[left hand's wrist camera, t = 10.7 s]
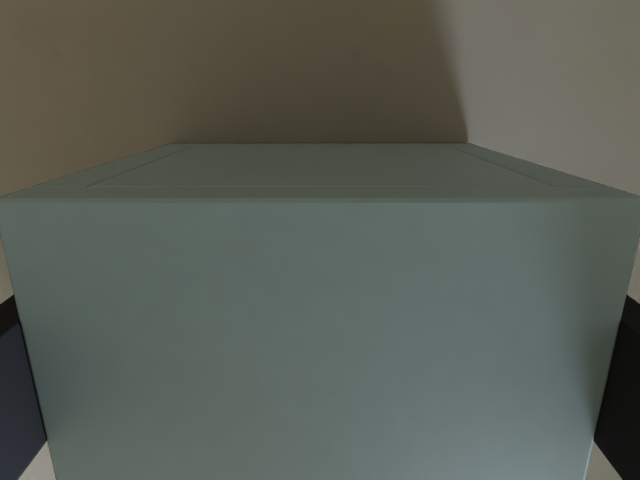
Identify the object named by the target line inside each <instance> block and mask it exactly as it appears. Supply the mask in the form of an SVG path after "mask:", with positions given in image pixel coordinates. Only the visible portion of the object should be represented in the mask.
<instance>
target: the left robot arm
mask: <svg viewBox="0 0 640 480" xmlns="http://www.w3.org/2000/svg"><path fill="white" fill-rule="evenodd" d="M46 441H47V437H46V433H45V428H44V424H43V420H42V415H41V411H40V406H39V402H38V398H37V393H36V389H35V384H34V380H33V376H32V371H31V367H30V362H29V358H28V354H27V349H26V345H25V340H24V336H23V332H22V327H21V323H20V318H19V314H18V310H17V305H16V301H15V296H14V295H13V296H11V297H10V298H8V299H7V300H6V301H4V302H3V303H2V304H0V480H18V479H19V477H20V476H21V475H22V473H23V472H24V471H25V469H26V468H27V467H28V465H29V464H30V463H31V461H32V460H33V459H34V457H35V456H36V455H37V453H38V452H39V451H40V449H41V448H42V446H43V445H44V444H45V442H46ZM594 442H595V443H596V444H597V446H598V447H599V449H600V450H601V451H602V453H603V454H604V455H605V457H606V458H607V459H608V461H609V462H610V463H611V465H612V466H613V467H614V469H615V470H616V471H617V473H618V474H619V475H620V477H621V478H622V479H623V480H640V304H639V303H638V302H636V301H635V300H633V299H632V298H631V297H629V296H628V295H626V299H625V303H624V308H623V312H622V317H621V321H620V325H619V330H618V334H617V339H616V343H615V347H614V352H613V356H612V361H611V365H610V370H609V374H608V378H607V383H606V387H605V392H604V396H603V400H602V405H601V409H600V414H599V418H598V423H597V427H596V431H595V436H594Z"/></svg>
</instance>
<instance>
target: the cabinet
mask: <svg viewBox="0 0 640 480" xmlns="http://www.w3.org/2000/svg"><path fill="white" fill-rule="evenodd" d="M0 235H1V239H2V244H3V248H4V252H5V257H6V261H7V266H8V270H9V274H10V279H11V283H12V288H13V292H14V296H15V301H16V305H17V310H18V314H19V318H20V323H21V327H22V332H23V336H24V340H25V345H26V349H27V354H28V358H29V362H30V367H31V371H32V376H33V380H34V384H35V389H36V393H37V398H38V402H39V406H40V411H41V415H42V420H43V424H44V428H45V433H46V437H47V442H48V446H49V450H50V455H51V459H52V464H53V468H54V472H55V477H56V480H585V475H586V471H587V467H588V462H589V458H590V453H591V449H592V445H593V440H594V436H595V431H596V427H597V423H598V418H599V414H600V409H601V405H602V400H603V396H604V392H605V387H606V383H607V378H608V374H609V370H610V365H611V361H612V356H613V352H614V347H615V343H616V339H617V334H618V330H619V325H620V321H621V317H622V312H623V308H624V303H625V299H626V295H627V290H628V286H629V281H630V277H631V272H632V268H633V264H634V259H635V255H636V250H637V246H638V242H639V237H640V196H638V195H635V194H632V193H628V192H625V191H622V190H619V189H615V188H612V187H608V186H606V185H603V184H600V183H596V182H593V181H590V180H587V179H583V178H580V177H577V176H574V175H570V174H567V173H564V172H561V171H557V170H554V169H551V168H548V167H544V166H541V165H538V164H535V163H531V162H528V161H525V160H521V159H518V158H515V157H512V156H508V155H505V154H502V153H499V152H495V151H492V150H489V149H486V148H482V147H480V146H477V145H473V144H470V143H389V144H167V145H164V146H161V147H158V148H155V149H151V150H148V151H145V152H142V153H138V154H135V155H132V156H129V157H125V158H122V159H119V160H116V161H112V162H109V163H106V164H103V165H99V166H96V167H93V168H90V169H86V170H83V171H80V172H77V173H74V174H70V175H67V176H64V177H61V178H57V179H54V180H51V181H48V182H44V183H41V184H38V185H35V186H32V187H30V188H26V189H23V190H20V191H17V192H13V193H10V194H7V195H4V196H1V197H0Z"/></svg>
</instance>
